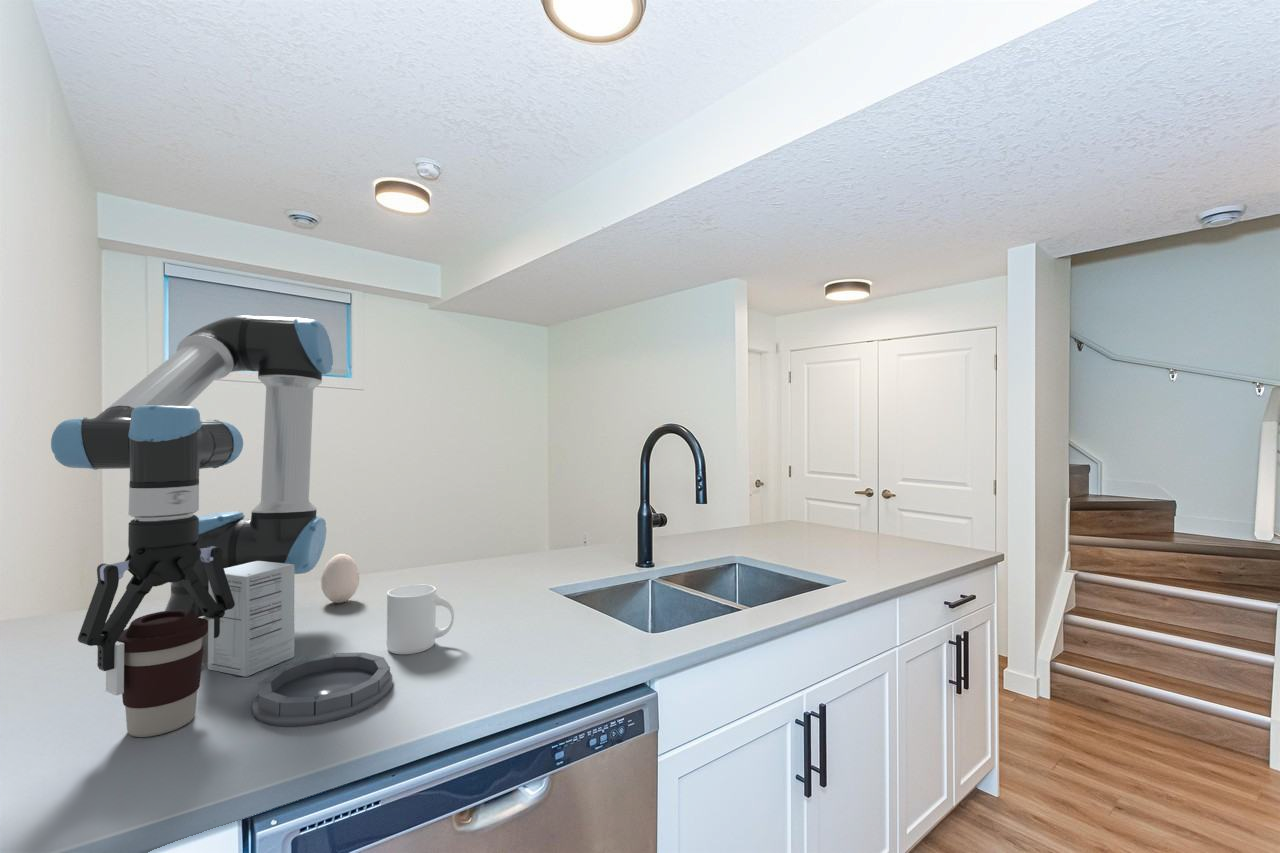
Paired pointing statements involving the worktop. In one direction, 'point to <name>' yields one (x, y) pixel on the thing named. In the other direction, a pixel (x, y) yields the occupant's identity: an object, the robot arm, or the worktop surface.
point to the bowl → (322, 689)
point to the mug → (414, 618)
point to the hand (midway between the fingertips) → (162, 676)
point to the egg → (340, 578)
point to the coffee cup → (162, 671)
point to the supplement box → (256, 619)
